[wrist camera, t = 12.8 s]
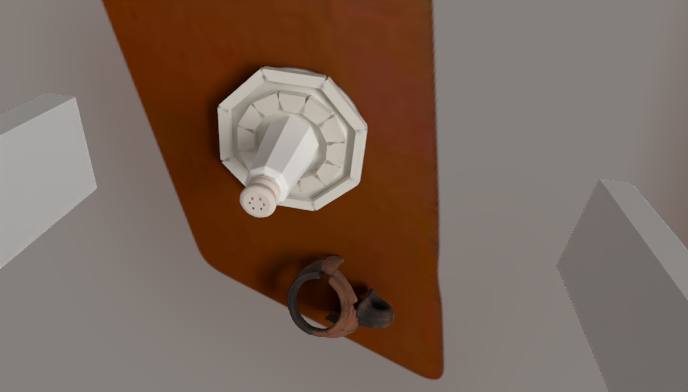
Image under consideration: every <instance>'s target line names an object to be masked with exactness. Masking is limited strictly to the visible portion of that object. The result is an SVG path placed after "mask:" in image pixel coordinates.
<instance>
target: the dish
mask: <svg viewBox="0 0 688 392" xmlns="http://www.w3.org/2000/svg"><path fill="white" fill-rule="evenodd" d="M289 116H290V117H293V118H295V119H297V120H299V121H301V122H303V123H305V124H308V125H310V126H311V128H312V131H313V133H314V135H315V137H316V140H317V142H318V144H319V146H318V148H317V150H316V153H315V155H314V157H313V159H312V161H311V163H310V165H309V166H308V167H307V169H306V170H305V172H304V173H303V175H302V176H301V177H300V179H299V180H298V182H297V183H296V185H295V186H294V187H293V189H292V190H291V192H290V193H289V195H288V196H287V197H286V199H285V200H284V201H282V202H279V203H277V204H276V205H281V206H287V207H293V208H299V209H305V210H311V211H314V209H316V210H318V209H320V208H321V207H323V206H325V205H326V204H328V203H329V202H331V201H333V200H334V199H336V198H337V197H339V196H341V195H342V194H344V193H345V192H347V191H349V190H350V189H352V188H353V187H355V186H357V185H358V183H359V182H360V179H361V172H362V165H363V158H364V152H365V144H366V137H367V130H368V127H367V124H366V122H365V121H364V120H363V119H362V117H361V115H360V113H359V111H358V109H357V107H356V105H355V104H354V102H353V101H352V100H351V98H350V97H349V96H348V95H347V94H346V92H345V91H344V90H343V89H342V88H340V87H339V86H338V85H337V84H336V83H334V82H333V81H332V80H331V78H330V77H328V78H327V77H326V75H322V74H319V73H316V72H314V71H311V70H308V69H303V68H298V67H277V68H274V67H268V66H265V67H264V68H263V67H262V68H261V69H259V70H258V71H257V72H256V73H255V74H254V75H252V76H251V77H250V78H249V79H248V80H247V81H245V82H244V83H243V84H242V85H241V86H240V87H239V88H238V89H236V90H235V91H234V92H233V93H232V94H231V95H230V96H228V97H227V98H226V99H225V100H224V101H223V102H222V103H221V104H219V107H218V123H219V141H220V158H221V160H223V161H222V163H223V164H224V165H225V166H226V167H227V168H228V169H229V170H230V171H231V172H232V173H233V174H234V175H235V176H236V177H237V178H238V179H239V180H240V181H241V183H242V184H243V185H244V186H245V181H246V178H247V176H248V173H249V170H250V168H251V165H252V163H253V161H254V158H255V156H256V154H257V152H258V149H259V147H260V145H261V143H262V140H263V138H264V136H265V134H266V132H267V129H268V127H269V125H270V123H271V122H274V121H277V120H280V119H283V118H286V117H289ZM245 187H246V186H245Z"/></svg>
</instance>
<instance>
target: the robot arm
mask: <svg viewBox="0 0 688 392" xmlns="http://www.w3.org/2000/svg"><path fill="white" fill-rule="evenodd" d="M96 188H97V185H96V181H95V177H94V173H93V169H92V165H91V160H90V156H89V152H88V148H87V143H86V140H85V135H84V131H83V127H82V123H81V118H80V114H79V110H78V106H77V102H76V98H75V97H72V96H66V95H59V94H52V93H45V94H43V95H41V96H39V97H36V98H34V99H32V100H30V101H28V102H25V103H24V104H21V105H19V106H17V107H15V108H12V109H10V110H8V111H6V112H4V113H1V114H0V269H1V268H2V267H3V266H4V265H5V264H6V263H8V262H9V261H10V260H11V259H13V258H14V257H15V256H16V255H17V254H19V253H20V252H21V251H22V250H23V249H25V248H26V247H27V246H28V245H29V244H31V243H32V242H33V241H34V240H35V239H37V238H38V237H39V236H40V235H41V234H42V233H44V232H45V231H46V230H47V229H49V228H50V227H51V226H52V225H53V224H55V223H56V222H57V221H58V220H59V219H60V218H62V217H63V216H64V215H66V214H67V213H68V212H69V211H70V210H71V209H72V208H74V207H75V206H76V205H78V204H79V203H80V202H81V201H82V200H83V199H85V198H86V197H87V196H88V195H89V194H91V193H92V192H93V191H94V190H96ZM557 268H558V270H559V272H560V275H561V277H562V280H563V282H564V285H565V287H566V289H567V292H568V294H569V297H570V299H571V301H572V304H573V306H574V309H575V311H576V313H577V316H578V318H579V321H580V323H581V326H582V328H583V330H584V333H585V335H586V337H587V340H588V342H589V345H590V347H591V350H592V352H593V354H594V357H595V359H596V362H597V364H598V366H599V369H600V371H601V374H602V376H603V379H604V381H605V383H606V386H607V388H608V390H609V392H688V250H687V248H686V247H685V246H684V245H683V244H682V242H681V241H680V240H679V239H678V238H677V236H676V235H675V234H674V233H673V232H672V230H671V229H670V228H669V227H668V226H667V224H666V223H665V222H664V221H663V220H662V218H661V217H660V216H659V215H658V214H657V212H656V211H655V210H654V209H653V208H652V207H651V205H650V204H649V203H648V202H647V201H646V199H645V198H644V197H643V196H642V195H641V193H640V192H639V191H638V190H637V189H636V187H635V186H634V185H633V184H631V183H625V182H619V181H612V180H605V179H599V180H598V182H597V184H596V186H595V188H594V190H593V193H592V194H591V196H590V198H589V200H588V202H587V205H586V207H585V209H584V211H583V213H582V215H581V217H580V219H579V221H578V223H577V225H576V227H575V229H574V231H573V233H572V235H571V237H570V239H569V241H568V243H567V245H566V247H565V249H564V251H563V253H562V255H561V257H560V260H559V262H558V264H557Z"/></svg>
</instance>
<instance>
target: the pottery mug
mask: <svg viewBox="0 0 688 392" xmlns="http://www.w3.org/2000/svg"><path fill="white" fill-rule="evenodd" d="M343 262H344V259H343V258H342V257H339V256H335V255H332V256H330V257H329V256H328V257H327V258H326V259H319V260H316V261H314V262H313V263H311V264H309V265H307V266H306V267H305V268H303V269H302V270H301V271H300V273H299V274H298V275H297V279H296V280H295V281H294V283H293V284H292V286H291V288H290V291H289V294H288V309H289V311H290V315H291V317H292V319H293V321H294V322H295V324H296V325H297V326H298V327H299V328H300V329H301V330H303V331H304V332H306V333H308V334H310V335H314V336H318V337H328V338H338V337H343V336H346V335H348V334H350V333H352V332H354V331H355V330H356V329H357V328H358V327H359V326H365V327H369V328H382V327H384V328H385V327H387V326H389V325H390V324H391V323H392V322H393V320H394V316H395V314H394V313H393V310H392V308H391V306H390V305H389V304H388V303H387V302H385V301H384V300H382V299H380V298H379V297H378V296H377V294H376V293H375V291H374V289H373V288H371V289H370V290H369V293H368V295H367V297H366V298H364V299H363V300H362V301H361V302H360V303H359V304H358V306H357V310H355V309H354V306H353V304H354V303H356V302H357V301H358V300H357V297H356V295H355V293H354V291H353V289H352V287H351V285H350V284H349V283H348V281H347V280H346V278H345V277H344V275H343V274H342V273H341V272H340V271H339V270H337V268H338V266H339V265H340V264H342V263H343ZM322 274H324V275H326V276H329V277H330V278H329V281H328V283H329V284H330V285H331V286H332V287H333V288H334V290H335V291H336V292H337V294H338V297H339V299H340V304H341V313H339V312H336V311H334V310H332V311H331V313H330V314H329V316H327V317H325V321H327V322H329V323H332V324H333V326H332V327H330V328H326V329H321V328H316V327H313V326H311V325H310V324H308V323H307V322H306V321H305V320H304V319H303V317H302V316H301V314H300V313H299V310H298V307H297V293H298V290H299V288H300V286H301V285H302V284H303V283H304V282H306V281H308V280H311V279H320V278H321V276H322Z"/></svg>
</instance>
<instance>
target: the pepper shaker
mask: <svg viewBox="0 0 688 392" xmlns="http://www.w3.org/2000/svg"><path fill="white" fill-rule="evenodd" d="M318 146H319V144H318V142H317V140H316V137H315V135H314V133H313V131H312V128H311V126H310V125H308V124H305V123H303V122H301V121H299V120H297V119H295V118H293V117H290V116H289V117H286V118H283V119H280V120H277V121H274V122H271V123H270V125H269V127H268V129H267V132H266V134H265V136H264V138H263V140H262V143H261V145H260V147H259V149H258V152H257V154H256V156H255V158H254V161H253V163H252V165H251V168H250V170H249V173H248V176H247V178H246V181H245V186H246V188H245V189H244V190H243V191H242V192H241V195H240V203H241V205H242V207H243V209H244V210H245V211H246V212H247V213H249V214H250V215H253V216H255V217H266V216H269V215H271V214H272V213H273V212H274V210H275V208H276V204H277V203H279V202H282V201H284V200H285V199H286V197H287V196H288V195H289V193H290V192H291V190H292V189H293V187H294V186H295V185H296V183H297V182H298V180H299V179H300V177H301V176H302V175H303V173H304V172H305V170H306V169H307V167H308V166H309V165H310V163H311V161H312V159H313V157H314V155H315V153H316V150H317V148H318Z"/></svg>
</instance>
